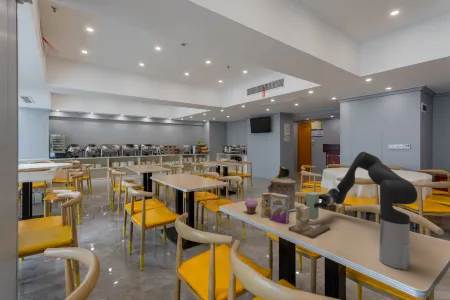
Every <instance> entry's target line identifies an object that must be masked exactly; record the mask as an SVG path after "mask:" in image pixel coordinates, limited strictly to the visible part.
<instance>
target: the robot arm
mask: <svg viewBox="0 0 450 300" xmlns="http://www.w3.org/2000/svg"><path fill="white" fill-rule="evenodd" d="M358 168H360V169H363V170H365V171H367V174H368V177H369V178H370V179H371V181H372V182H373V183H374V184H376V185H377V186H379V209H380V220H379V221H380V224H379V253H378V254H379V257H378V258H379V261H380V262H381V263H382V264H384V265H385V266H387V267H390V268H394V269H397V270H404V271H408V269H409V268H410V266H411V243H412V242H411V241H410V233H411V232H410V229H411V228H410V227H411V226H410V225H411V217H410V216H409V214H407V213H406V212H403V211H401V210H397V209H395V208H394V206H393V205H394V204H395V205H396V204H397V205H412V204H414V203H415V202H416V201H417V199H418V191H417V188H416V186H415V185H414V184H413V183H412V182H411V181H409V180H407V179H405V178H403V177H401V176H400V175H398V174H397V173H396V172H395V171H393V170H392V168H390V167H388V165H385V164H384V163H383V162H382V161H381V159H380V158H379V157H377V156H375V155H373V154H371V153H368V152H366V151H361V152H359V153H358V154H357V156H355V158H354V160H353V162H352V163H351V165H350V166H349V168H348V170H347V172H346V174H345V175H344V176H343V178H342V179H341V180H340V182H339V183H338V184H337V185H336V188H330V189H329V190H328V192H326V193H319V202H318V203H315V204H314V208H316V207H319V208H323V209H325V208H329V207H331V205H332V204H337V205H340V204H343V203H344V201H345V200H346V197H347V194H348V193H349V191H350V190H351V189H352V188H353V187H354V186H355V182H356V171H357V169H358ZM304 206H306V198H305V199H304Z"/></svg>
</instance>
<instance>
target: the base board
mask: <svg viewBox="0 0 450 300" xmlns="http://www.w3.org/2000/svg"><path fill="white" fill-rule="evenodd" d="M309 212H310V207H306V205H302V204H301V205H298V206H297V207H296V211H295V224H294V225H292V226H289V227H288V231H291V232H293V233H295V234H298V235H301V236H304V237H306V238H309V239H311V240H312V239H315V238H317V237H319V236H321V235H322V234H325V233H326V232H328V231H330V230H331V226H327V225H324V224H320V223H317V222H314V221H310V219H309Z"/></svg>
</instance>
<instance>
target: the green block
mask: <svg viewBox="0 0 450 300" xmlns="http://www.w3.org/2000/svg"><path fill="white" fill-rule="evenodd" d="M319 195H320V193H316V192H311V191H310V192H306V193H305V199H306V205H305V206H306V207H310V212H309V220H313V221H315V220H317V219H319V208H320V207H316V208H314V204H315V203H318V202H319Z"/></svg>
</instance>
